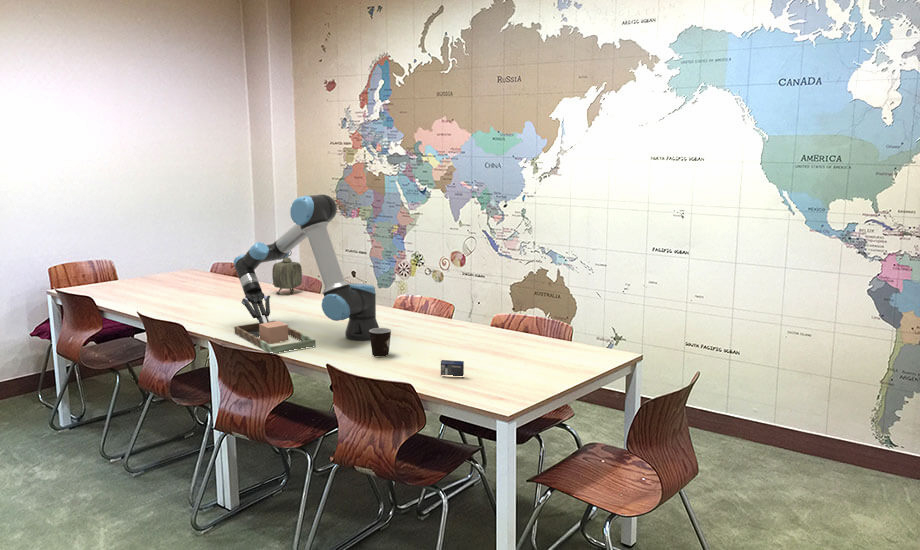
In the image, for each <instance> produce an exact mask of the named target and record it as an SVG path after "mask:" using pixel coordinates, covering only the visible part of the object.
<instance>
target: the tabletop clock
mask: <svg viewBox="0 0 920 550" xmlns="http://www.w3.org/2000/svg"><path fill="white" fill-rule="evenodd" d="M292 254H293V253H292V250H290V253H289V255H288V257H286V258H283V259H282V261H279V262H276V263H273V265H272V275H271V276H272V284H273V286H274V288H279V290H278V291H276V295H277V296H279V295H280V291H282V290H283V289H285V290H289V295H293V293H294V291H295V289H294V288H297V287H299V286H301V285H302V283H303V271H302V270H303V269H302V268H303V267H302V265H301V263H299V262H297V261H292V260H293V259H292V258H290V256H291V255H292Z"/></svg>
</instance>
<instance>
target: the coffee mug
mask: <svg viewBox="0 0 920 550" xmlns="http://www.w3.org/2000/svg"><path fill="white" fill-rule="evenodd" d="M369 333H370V340H369V341H370V346H371V354H372V356H373V355H374V356H373V357H375V356H385V357H387V356H386V355H388V354H389V353H390V343H391V335H392V330H391V329H390V328H387V327H379V328H374V329H371V330H369ZM388 356H389V355H388Z"/></svg>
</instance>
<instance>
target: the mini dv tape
mask: <svg viewBox="0 0 920 550" xmlns="http://www.w3.org/2000/svg"><path fill="white" fill-rule="evenodd" d="M464 365H465V362H464V361H463V360H452V359H451V360H446V359H440V376H441V375H453V376H463V375H465V368H464Z"/></svg>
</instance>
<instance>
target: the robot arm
mask: <svg viewBox="0 0 920 550" xmlns="http://www.w3.org/2000/svg"><path fill="white" fill-rule="evenodd" d="M289 211H290V212H289V215H290V218H291V220H292V221H293V223H294V225H293V226H292V227H291V228H289V229H288V230H287V231H286V232H284V234H282V235H281V236H280V237H278V239H276V241H274V242H273V243H270V244H265V243H264V242H261V241H257V242H255V243H254V244H253V245H252V246H250V248H249V249H248V251H247V252H246V254H240V255H238V256H236V257H235V258H234V259H233V265H234V269H235V271H236V274H237V277H238V279H239V282H240V285H241V288H242V290H243V293H244V298H242V301H241V304H242V305H243V306H244V307H245V308H246V310H247V311H248V312H249V314H250V316H251V317H252V319H256V320H257V321H258V323H260V324H262V323H268V322H269V321H270V320H269V317H270V315H271V308H270V299H271V295H270V294H269V295H266V294H265V293H264V292H263V291H262V287H261V285H260V282H259V280H258V276H257V273H256V271H255V270H256V269H257V268H258V267H259V266H260V265H261V264H262V263H267V262H272V261H278V260H283V259H284V258H286V257H288V255H290V254H291V252H290V250H291V251H292V250H293V249H294V248H295V247H297V246H298V245H299V244H300V243H301V242H303V241H304V240H306V239H308V241H309V242H308V243H309V245H310V248H311V251H312V254H313V256H314V260H315V262H316V266H317V268H318V271H319V273H320V276H321V277H320V278H321V280H322V283H323V285H324V286H323V287H324V289H323V291H322V295H323V298H322V300H321V310H322V312H323V314H324V315H325V317H327V318H328V319H330V320H332V321H336V322H337V321H338V322H339V321H344V320H347V319H348V322H347V324H346V329H345V333H344V334H345V338H347V340H351V339H352V340H351V341H371V340H370V333H369V330H371V329H374V328H380V327H379V323H378V321H377V310H376V308H377V306H376V305H377V304H376V299H377V298H376V297H377V293H376V287H375V286H374V285H373V284H365V283H349V282H347V281H345V278H344V275H343V273H342V270H341V267H340V263H339V261H338V258H337V255H336V252H335V249H334V246H333V243H332V240H331V238H330V237H331V236H330V234H329V231H328V229H327V227H328V225H329V222H331V221H332V220H334V219H335V217H336V215H337V211H338V206H337V203H336V201H335V199H334V198H332V196H330V195H327V194H313V195H303V196H299V197H297V198H295V199H294V200H293V202H292V203H291V207H290V210H289ZM263 299H264V301H265V302H264V304H265V305H264V304H263Z"/></svg>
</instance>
